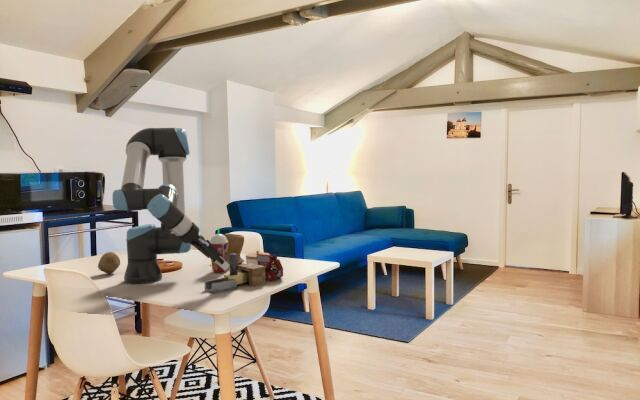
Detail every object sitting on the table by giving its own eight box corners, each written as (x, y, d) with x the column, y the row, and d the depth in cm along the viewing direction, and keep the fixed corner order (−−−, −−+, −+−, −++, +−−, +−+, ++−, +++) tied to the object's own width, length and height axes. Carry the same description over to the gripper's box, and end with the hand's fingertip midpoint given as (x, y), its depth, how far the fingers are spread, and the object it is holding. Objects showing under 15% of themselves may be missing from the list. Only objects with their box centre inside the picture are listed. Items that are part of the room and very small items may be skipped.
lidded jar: (266, 274, 202) (265, 253, 201) (242, 274, 204) (242, 253, 204) (273, 269, 213) (272, 249, 212) (251, 268, 215) (250, 248, 214)
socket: (238, 282, 189) (237, 265, 189) (250, 279, 193) (249, 262, 193) (252, 286, 181) (252, 268, 181) (265, 283, 185) (265, 266, 185)
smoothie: (233, 271, 210) (231, 227, 209) (217, 274, 204) (215, 229, 203) (222, 268, 216) (220, 226, 215) (207, 272, 210) (205, 228, 209)
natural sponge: (124, 273, 211) (123, 251, 211) (104, 277, 205) (103, 254, 204) (115, 270, 217) (114, 249, 217) (96, 274, 211) (95, 252, 210)
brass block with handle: (224, 284, 181) (222, 254, 180) (252, 278, 189) (251, 250, 189) (228, 285, 178) (227, 255, 177) (257, 279, 187) (256, 251, 186)
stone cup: (250, 262, 230) (249, 232, 229) (234, 267, 220) (233, 235, 219) (226, 260, 237) (225, 231, 236) (210, 264, 227) (209, 234, 226)
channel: (204, 290, 177) (204, 281, 177) (227, 285, 184) (227, 276, 183) (213, 293, 172) (212, 284, 172) (236, 288, 179) (236, 279, 179)
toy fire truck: (277, 282, 187) (276, 257, 186) (252, 279, 193) (252, 255, 193) (286, 278, 193) (286, 254, 192) (262, 276, 199) (262, 252, 199)
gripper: (170, 235, 171) (212, 273, 183) (186, 238, 161) (229, 278, 173) (183, 220, 174) (224, 257, 186) (199, 222, 164) (241, 262, 176)
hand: (226, 267), depth 179 cm, fingers closed
